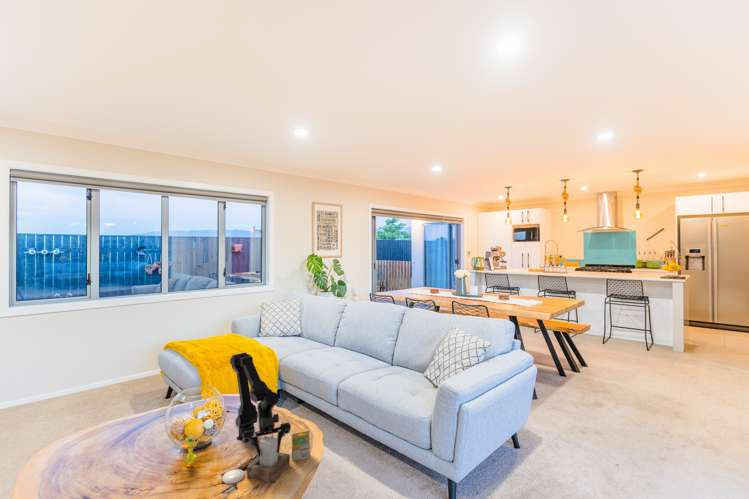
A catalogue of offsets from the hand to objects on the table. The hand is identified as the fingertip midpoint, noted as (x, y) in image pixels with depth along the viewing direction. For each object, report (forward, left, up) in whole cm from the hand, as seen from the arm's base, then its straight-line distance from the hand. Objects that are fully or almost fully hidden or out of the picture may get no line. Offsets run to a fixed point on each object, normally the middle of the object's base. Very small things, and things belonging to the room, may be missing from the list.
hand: (269, 454), depth 145 cm
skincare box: (-1, +1, -7) cm, 7 cm away
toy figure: (-35, -5, -8) cm, 36 cm away
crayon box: (+7, +13, -8) cm, 17 cm away
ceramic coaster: (-13, -6, -8) cm, 16 cm away
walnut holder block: (-1, +1, -8) cm, 8 cm away
